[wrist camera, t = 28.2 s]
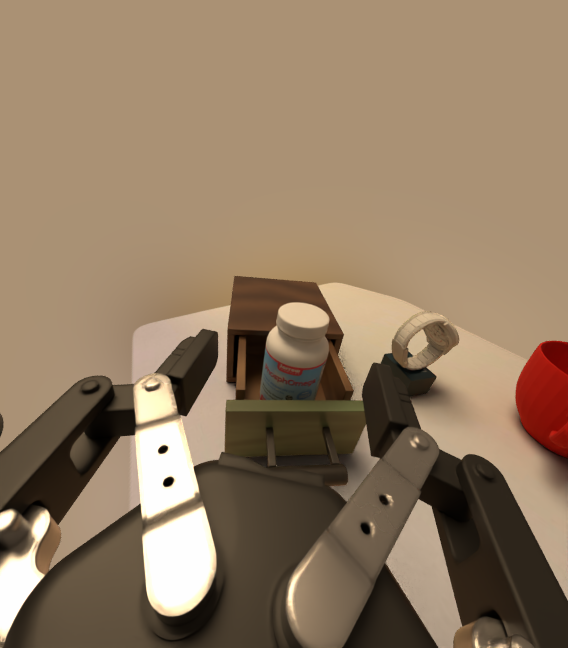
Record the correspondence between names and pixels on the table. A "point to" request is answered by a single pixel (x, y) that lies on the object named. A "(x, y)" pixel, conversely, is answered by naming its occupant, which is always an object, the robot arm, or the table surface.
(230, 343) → the cabinet
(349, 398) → the drawer
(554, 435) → the ceramic cup
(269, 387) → the pill bottle
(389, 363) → the watch
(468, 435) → the table surface
